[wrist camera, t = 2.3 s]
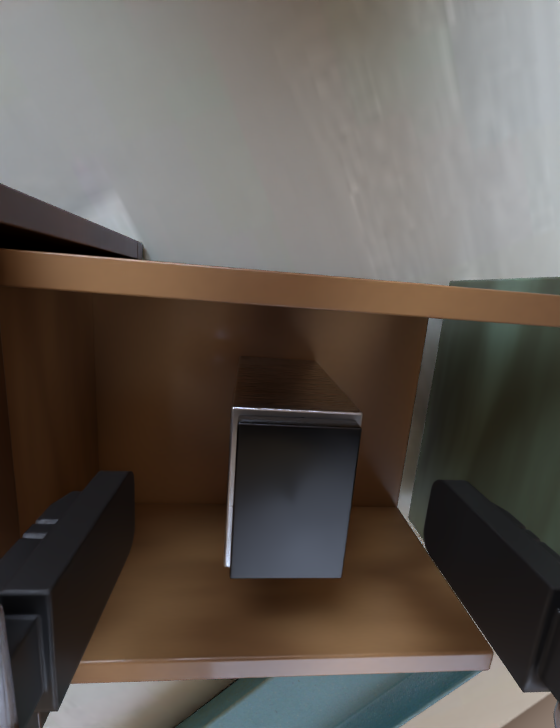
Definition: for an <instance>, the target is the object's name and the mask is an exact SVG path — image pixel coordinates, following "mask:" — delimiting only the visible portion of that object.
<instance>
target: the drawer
mask: <svg viewBox="0 0 560 728" xmlns="http://www.w3.org/2000/svg"><path fill="white" fill-rule="evenodd" d="M429 318H438V319H443V323H442V328H441V334H440V340H439V345H438V351H437V357H436V363H435V368H434V374H433V380H432V385H431V391H430V397H429V402H428V408H427V414H426V419H425V425H424V431H423V436H422V442H421V448H420V453H419V459H418V465H417V470H416V476H415V482H414V487H413V493H412V499H411V504H410V510H409V516H408V518H409V520H410V522H411V523H412V524H413V526H414V527H415V529H416V530H417V532H418V533H419V535H420V536H421V538H422V539H423V540H424V534H423V531H424V524H425V519H426V513H427V508H428V503H429V498H430V492H431V487H432V485H433V483H434V481H436V480H439V479H440V480H465V481H467V482H469V483H470V484H471V485H472V486H473V487H475V488H476V489H477V490H478V491H479V492H480V493H481V494H483V495H484V496H485V497H486V498H487V499H488V500H489V501H491V502H492V503H494V504H496V505H497V506H499V507H501V508H503V509H504V510H506V511H508V512H509V513H510V514H511V515H513V516H514V517H515V518H516V519H517V520H519V521H520V522H521V523H522V524H523V525H524V526H525V528H526V529H529V530H530V531H531V532H533V533H534V534H535V535H536V536H537V537H538V538H540V541H541V542H544V543H545V544H547V545H548V546H549V547H550V548H551V549H552V550H554V551H555V552H556V553H557V554H558V555H560V277H541V278H516V279H490V280H464V281H450V283H449V286H444V285H433V284H421V283H409V282H397V281H385V280H373V279H361V278H349V277H337V276H325V275H313V274H301V273H290V272H278V271H266V270H254V269H242V268H230V267H218V266H206V265H194V264H182V263H170V262H158V261H147V260H135V259H123V258H111V257H99V256H87V255H75V254H63V253H51V252H39V251H27V250H16V249H4V248H0V327H1V337H2V348H3V358H4V369H5V379H6V390H7V400H8V411H9V421H10V432H11V442H12V453H13V463H14V474H15V484H16V494H17V505H18V515H19V526H20V536H21V539H22V537H23V534H24V533H25V532H26V531H27V530H28V529H29V528H30V526H31V525H32V524H35V523H36V520H37V519H38V518H39V517H40V516H41V515H42V513H43V512H44V511H45V510H46V509H47V508H48V507H49V506H50V505H51V504H52V503H54V502H55V501H57V500H59V499H60V498H62V497H64V496H65V495H67V494H68V493H70V492H72V491H83V489H84V488H85V487H86V486H87V485H88V483H89V482H90V481H91V480H92V479H93V477H94V476H95V475H96V474H97V473H98V472H99V471H101V470H103V471H132V472H133V474H134V483H135V531H134V538H133V543H132V546H131V550H130V553H129V555H128V557H127V559H126V562H125V564H124V566H123V568H122V571H121V573H120V575H119V577H118V579H117V582H116V584H115V586H114V588H113V590H112V593H111V595H110V597H109V599H108V601H107V604H106V606H105V608H104V610H103V612H102V615H101V617H100V619H99V621H98V623H97V626H96V628H95V630H94V632H93V635H92V637H91V639H90V641H89V643H88V646H87V648H86V650H85V652H84V654H83V657H82V659H81V661H80V663H79V665H78V668H77V670H76V672H75V674H74V676H73V679H72V681H71V683H70V684H78V683H109V682H140V681H171V680H203V679H234V678H265V677H296V676H327V675H358V674H389V673H420V672H451V671H482V670H489V669H490V665H491V661H492V658H493V650H492V648H491V647H490V645H489V644H488V642H487V641H486V640H485V638H484V637H483V635H482V634H481V632H480V631H479V629H478V628H477V626H476V625H475V623H474V622H473V620H472V619H471V617H470V616H469V614H468V613H467V611H466V610H465V608H464V607H463V605H462V604H461V602H460V601H459V599H458V598H457V596H456V595H455V593H454V592H453V590H452V589H451V587H450V586H449V584H448V583H447V581H446V580H445V578H444V577H443V575H442V574H441V572H440V571H439V569H438V568H437V566H436V565H435V563H434V562H433V560H432V559H431V557H430V556H429V554H428V553H427V551H426V550H425V548H424V547H423V545H422V544H421V542H420V541H419V539H418V538H417V536H416V535H415V533H414V532H413V530H412V529H411V527H410V526H409V524H408V523H407V521H406V520H405V518H404V517H403V515H402V514H401V512H400V511H399V509H398V508H397V504H398V498H399V492H400V486H401V481H402V475H403V469H404V463H405V457H406V451H407V445H408V439H409V433H410V427H411V421H412V415H413V409H414V403H415V397H416V391H417V385H418V379H419V373H420V367H421V361H422V355H423V349H424V343H425V337H426V331H427V325H428V319H429ZM241 356H246V357H263V358H280V359H296V360H313V361H316V362H317V363H318V364H319V365H320V366H321V367H322V368H323V370H324V371H325V372H326V373H327V374H328V375H329V376H330V377H331V378H332V380H333V381H334V382H335V383H336V384H337V385H338V386H339V387H340V388H341V390H342V391H343V392H344V393H345V394H346V395H347V396H348V397H349V399H350V400H351V401H352V402H353V403H354V404H355V405H356V406H357V407H358V409H359V410H360V411H361V412H362V414H363V416H362V423H361V428H362V432H361V440H360V447H359V455H358V462H357V469H356V477H355V484H354V491H353V499H352V506H351V514H350V521H349V528H348V536H347V543H346V550H345V558H344V565H343V573H342V578H294V579H231V578H230V577H229V572H230V567H224V543H225V523H226V502H227V482H228V461H229V441H230V421H231V406H232V400H233V394H234V388H235V382H236V376H237V370H238V364H239V358H240V357H241ZM544 692H551V691H544Z"/></svg>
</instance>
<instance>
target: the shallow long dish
mask: <svg viewBox="0 0 560 728" xmlns="http://www.w3.org/2000/svg"><path fill="white" fill-rule="evenodd" d="M482 671H483V670H482ZM480 672H481V671H451V672H420V673H389V674H358V675H327V676H296V677H265V678H240V679H238V680H237V681H236V682H235V683H233V684H232V685H231V686H229V687H228V688H227V689H225V690H224V691H223V692H221V693H220V694H219V695H217V696H216V697H215V698H214V699H212V700H211V701H210V702H208V703H207V704H206V705H204V706H203V707H202V708H200V709H199V710H198V711H196V712H195V713H194V714H192V715H191V716H190V717H189V718H187V719H186V720H185V721H183V722H182V723H181V724H179V725H178V726H177V727H175V728H399V727H401V726H402V725H403V724H405V723H406V722H408V721H409V720H411V719H412V718H414V717H415V716H417V715H418V714H420V713H421V712H423V711H424V710H426V709H427V708H429V707H430V706H431V705H433V704H434V703H436V702H437V701H439V700H440V699H442V698H443V697H445V696H446V695H448V694H449V693H451V692H452V691H454V690H455V689H457V688H458V687H460V686H461V685H462V684H464V683H465V682H467V681H468V680H470V679H471V678H473V677H474V676H476V675H477V674H478V673H480Z"/></svg>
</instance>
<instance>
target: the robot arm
mask: <svg viewBox="0 0 560 728" xmlns="http://www.w3.org/2000/svg"><path fill="white" fill-rule="evenodd" d="M134 531H135V483H134V474H133V472H132V471H103V470H101V471H99V472H98V473H97V474H96V475H95V476H94V477H93V479H92V480H91V481H90V482H89V483H88V485H87V486H86V487H85V488H84V489H83V491H72V492H70V493H68V494H67V495H65V496H64V497H62V498H60V499H59V500H57V501H55V502H54V503H52V504H51V505H50V506H49V507H48V508H47V509H46V510H45V511H44V512H43V513H42V515H41V516H40V517H39V518H38V519H37V520H36V523H35V524H32V525H31V526H30V528H29V529H28V530H27V531H26V532H25V533H24V534H23V537H22V539H18V541H17V542H16V543H15V544H14V545H13V546H12V547H11V548H10V549H9V550H8V551H7V552H6V554H5V555H4V556H3V557H2V558H1V559H0V728H26V726H27V724H28V722H29V720H30V718H31V716H32V714H33V712H52V711H58V710H59V707H60V705H61V703H62V701H63V699H64V696H65V694H66V692H67V690H68V688H69V685H70V683H71V681H72V679H73V676H74V674H75V672H76V670H77V668H78V665H79V663H80V661H81V659H82V657H83V654H84V652H85V650H86V648H87V646H88V643H89V641H90V639H91V637H92V635H93V632H94V630H95V628H96V626H97V623H98V621H99V619H100V617H101V615H102V612H103V610H104V608H105V606H106V604H107V601H108V599H109V597H110V595H111V593H112V590H113V588H114V586H115V584H116V582H117V579H118V577H119V575H120V573H121V571H122V568H123V566H124V564H125V562H126V559H127V557H128V555H129V553H130V550H131V546H132V543H133V538H134ZM423 534H424V542H425V546H426V549H427V551H428V553H429V555H430V557H431V558H432V560H433V561H434V562H435V564H436V565H437V567H438V568H439V570H440V571H441V573H442V574H443V576H444V577H445V579H446V580H447V582H448V583H449V584H450V586H451V587H452V589H453V590H454V592H455V593H456V595H457V596H458V598H459V599H460V601H461V602H462V603H463V605H464V606H465V608H466V609H467V611H468V612H469V614H470V615H471V617H472V618H473V620H474V621H475V623H476V624H477V625H478V627H479V628H480V630H481V631H482V633H483V634H484V636H485V637H486V639H487V640H488V642H489V643H490V644H491V646H492V647H493V649H494V650H495V652H496V653H497V655H498V656H499V658H500V659H501V661H502V662H503V664H504V665H505V666H506V668H507V669H508V671H509V672H510V674H511V675H512V677H513V678H514V680H515V681H516V683H517V684H518V686H519V687H520V688H521V690H522V691H523V692H544V691H551V693H552V694H553V695H554V697H555V698H556V699H557V703H556V706H555V709H554V724H555V728H560V555H558V554H557V553H556V552H555V551H554V550H552V549H551V548H550V547H549V546H548V545H547V544H545V543H544V542H541V541H540V538H538V537H537V536H536V535H535V534H534V533H533V532H531V531H530V530H529V529H526V528H525V526H524V525H523V524H522V523H521V522H520V521H519V520H517V519H516V518H515V517H514V516H513V515H511V514H510V513H509V512H508V511H506V510H504V509H503V508H501V507H499V506H497V505H496V504H494V503H492V502H491V501H489V500H488V499H487V498H486V497H485V496H484V495H483V494H481V493H480V492H479V491H478V490H477V489H476V488H475V487H473V486H472V485H471V484H470V483H469V482H467V481H465V480H440V479H439V480H436V481H434V483H433V485H432V487H431V492H430V498H429V503H428V508H427V513H426V519H425V524H424V531H423Z"/></svg>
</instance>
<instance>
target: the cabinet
mask: <svg viewBox="0 0 560 728" xmlns="http://www.w3.org/2000/svg"><path fill="white" fill-rule="evenodd" d="M0 248H4V249H16V250H27V251H39V252H51V253H63V254H75V255H87V256H99V257H111V258H123V259H135V260H143V249H142V243H141V242H138V241H136V240H134V239H131V238H129V237H127V236H124V235H122V234H120V233H117V232H115V231H112V230H110V229H108V228H105V227H103V226H101V225H98V224H96V223H93V222H91V221H89V220H86V219H84V218H81V217H79V216H77V215H74V214H72V213H70V212H67V211H65V210H62V209H60V208H58V207H55V206H53V205H51V204H48V203H46V202H43V201H41V200H39V199H36V198H34V197H31V196H29V195H27V194H24V193H22V192H20V191H17V190H15V189H12V188H10V187H8V186H5V185H3V184H1V183H0ZM18 539H21V536H20V526H19V515H18V505H17V494H16V484H15V474H14V463H13V453H12V442H11V432H10V421H9V411H8V400H7V390H6V379H5V369H4V358H3V348H2V337H1V327H0V559H1V558H2V557H3V556H4V555H5V554H6V552H7V551H8V550H9V549H10V548H11V547H12V546H13V545H14V544H15V543H16V542H17V541H18ZM49 713H50V712H33V714H32V716H31V718H30V720H29V722H28V724H27V726H26V728H43V726H44V723H45V721H46V719H47V717H48V715H49Z"/></svg>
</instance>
